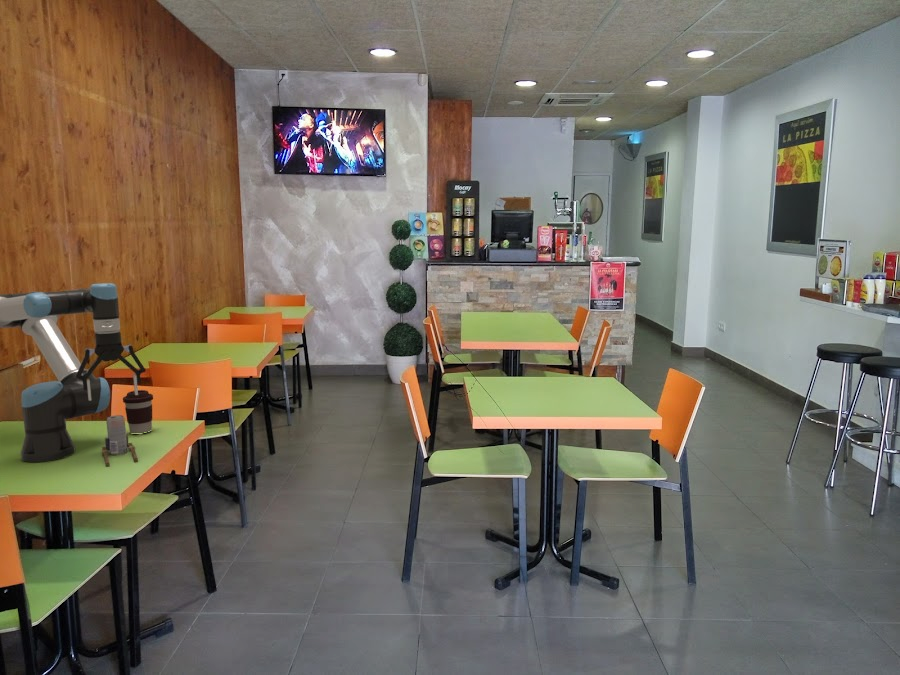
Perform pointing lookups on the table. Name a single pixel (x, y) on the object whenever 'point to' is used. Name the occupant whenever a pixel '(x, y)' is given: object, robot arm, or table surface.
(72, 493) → the table surface
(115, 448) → the energy drink
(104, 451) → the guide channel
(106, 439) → the stop block
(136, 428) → the coffee cup
